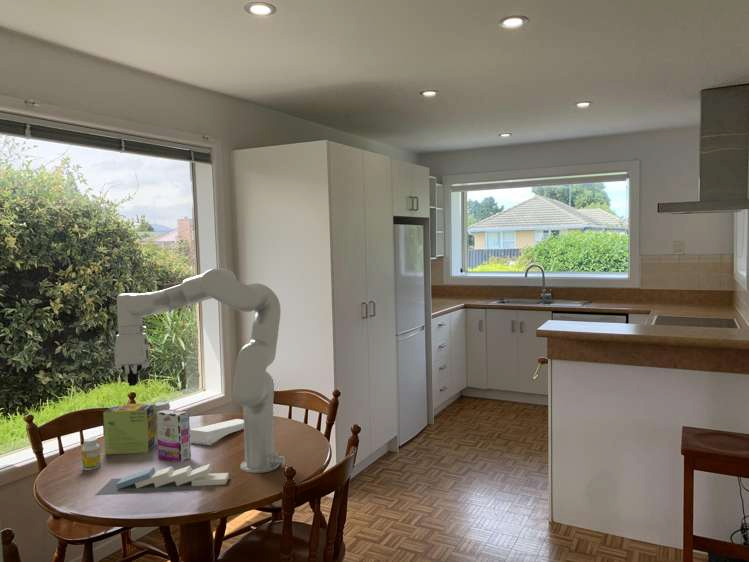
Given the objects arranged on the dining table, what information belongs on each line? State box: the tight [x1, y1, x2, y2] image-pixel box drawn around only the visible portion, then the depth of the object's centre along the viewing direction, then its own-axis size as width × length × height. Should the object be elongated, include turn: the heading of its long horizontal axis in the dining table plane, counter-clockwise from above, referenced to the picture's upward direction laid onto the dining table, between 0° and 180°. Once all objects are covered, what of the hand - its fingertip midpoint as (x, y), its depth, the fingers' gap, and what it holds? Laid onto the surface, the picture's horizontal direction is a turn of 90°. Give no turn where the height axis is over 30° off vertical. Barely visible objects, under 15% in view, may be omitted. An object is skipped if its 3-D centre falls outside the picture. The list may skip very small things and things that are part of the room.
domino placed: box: [116, 466, 157, 489], centre depth 171 cm, size 2×5×10 cm
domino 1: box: [135, 466, 175, 488], centre depth 172 cm, size 2×5×10 cm
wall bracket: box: [190, 418, 244, 446], centre depth 221 cm, size 10×7×28 cm
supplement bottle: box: [81, 437, 101, 471], centre depth 188 cm, size 5×5×10 cm
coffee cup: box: [150, 400, 171, 428], centre depth 224 cm, size 8×8×12 cm
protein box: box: [102, 402, 158, 455], centre depth 206 cm, size 10×15×16 cm
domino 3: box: [175, 463, 213, 486], centre depth 172 cm, size 2×5×10 cm
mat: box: [94, 477, 203, 496], centre depth 172 cm, size 30×12×1 cm, turn 93°
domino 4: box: [192, 472, 230, 487], centre depth 173 cm, size 2×5×10 cm
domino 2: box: [154, 465, 193, 488], centre depth 172 cm, size 2×5×10 cm
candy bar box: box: [156, 408, 192, 463], centre depth 195 cm, size 11×5×16 cm, turn 62°
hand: (133, 384), depth 189 cm, fingers closed
